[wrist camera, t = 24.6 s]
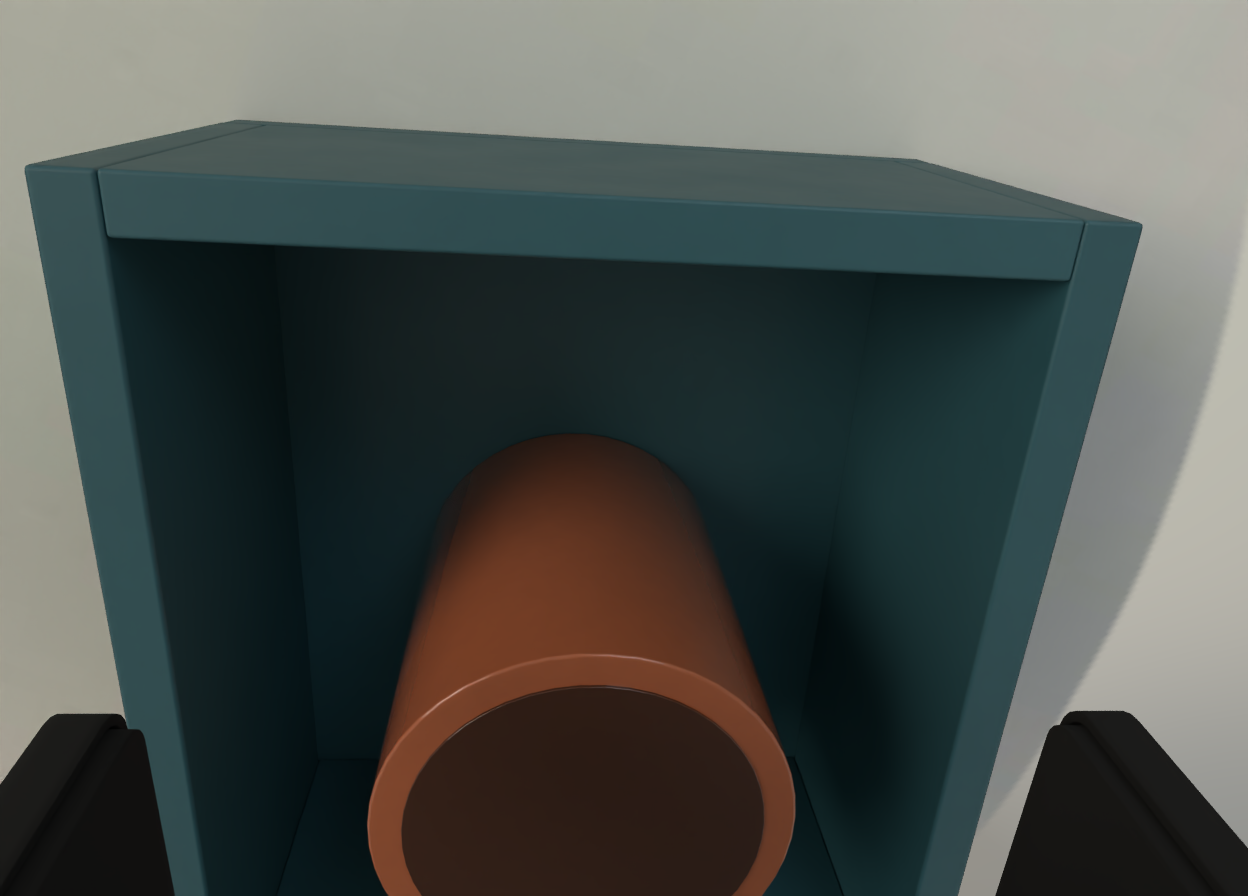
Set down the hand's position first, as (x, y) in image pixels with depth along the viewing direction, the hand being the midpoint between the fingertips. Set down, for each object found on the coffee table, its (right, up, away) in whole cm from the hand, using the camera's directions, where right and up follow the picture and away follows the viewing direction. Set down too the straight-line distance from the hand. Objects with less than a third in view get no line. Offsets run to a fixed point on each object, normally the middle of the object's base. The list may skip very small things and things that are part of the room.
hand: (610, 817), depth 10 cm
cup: (-1, +1, +11) cm, 12 cm away
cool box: (-1, +3, +12) cm, 12 cm away
